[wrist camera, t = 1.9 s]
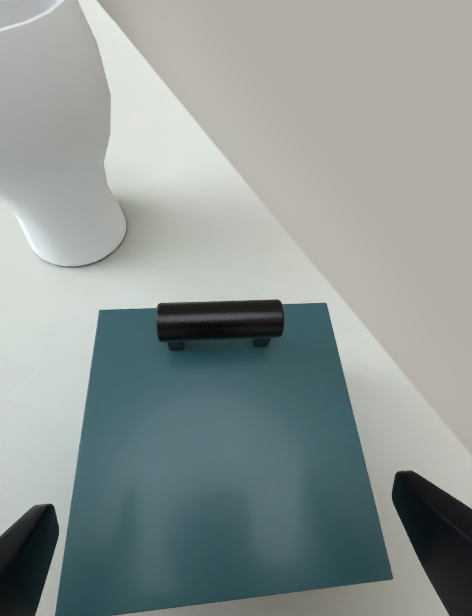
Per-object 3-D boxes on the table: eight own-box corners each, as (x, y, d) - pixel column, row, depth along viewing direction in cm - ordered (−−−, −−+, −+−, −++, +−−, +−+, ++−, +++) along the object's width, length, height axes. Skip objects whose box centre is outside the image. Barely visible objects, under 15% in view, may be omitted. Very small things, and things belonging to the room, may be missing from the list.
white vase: (168, 238, 27) (129, 8, 14) (49, 307, 23) (-168, 78, 10) (102, 170, 30) (20, -68, 17) (-12, 221, 26) (-235, -38, 13)
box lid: (103, 316, 16) (73, 272, 13) (322, 309, 17) (350, 266, 14) (63, 614, 11) (-9, 681, 7) (383, 573, 12) (456, 614, 8)
